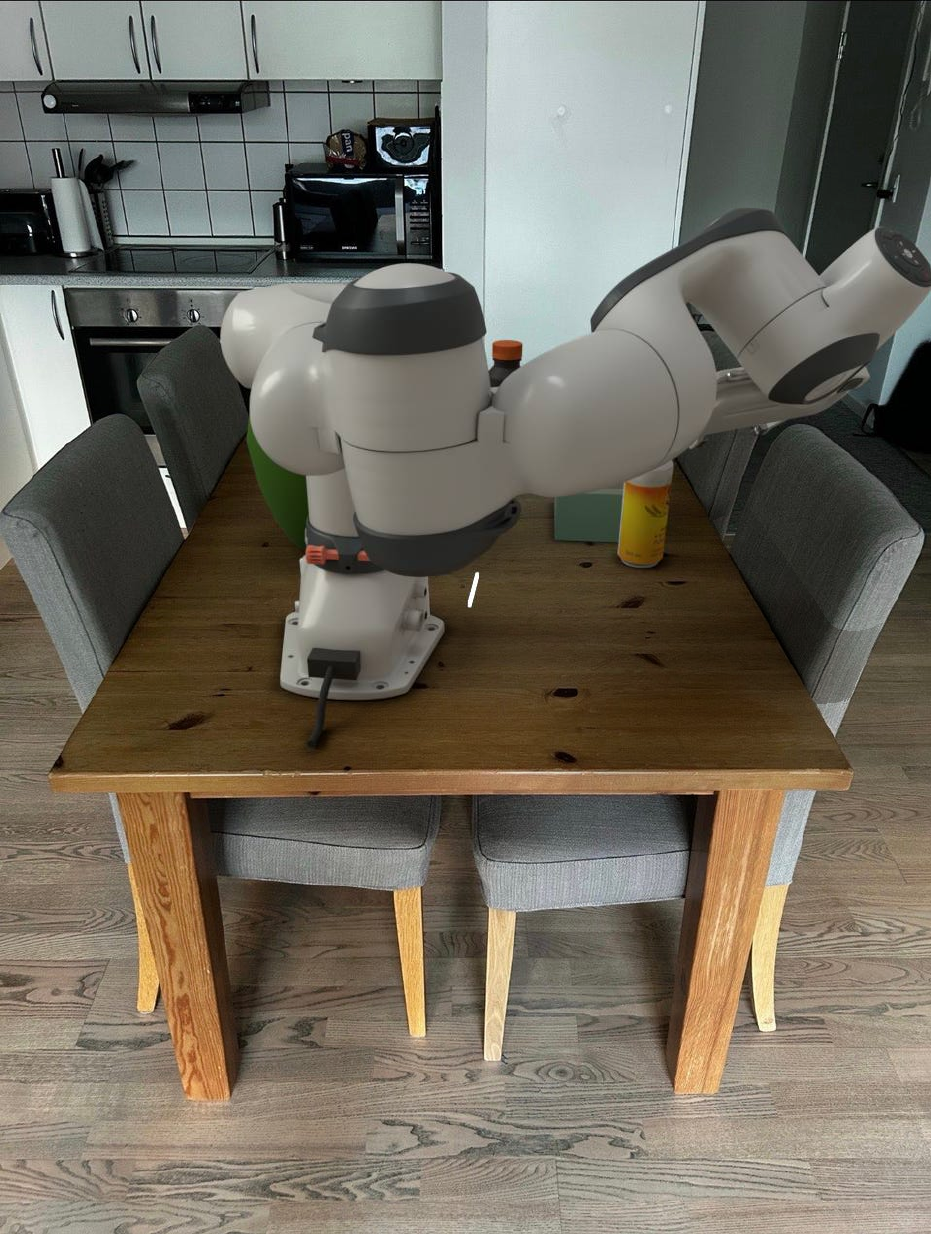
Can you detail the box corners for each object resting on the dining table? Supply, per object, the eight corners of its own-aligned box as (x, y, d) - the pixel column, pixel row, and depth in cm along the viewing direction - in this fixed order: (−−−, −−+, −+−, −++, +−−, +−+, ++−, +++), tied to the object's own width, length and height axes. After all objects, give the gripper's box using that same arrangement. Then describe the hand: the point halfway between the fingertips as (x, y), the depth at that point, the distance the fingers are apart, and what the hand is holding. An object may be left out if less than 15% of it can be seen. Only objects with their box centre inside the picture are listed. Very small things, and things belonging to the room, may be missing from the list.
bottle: (500, 470, 160) (503, 350, 150) (476, 459, 165) (478, 342, 155) (532, 462, 163) (536, 344, 154) (507, 451, 168) (510, 336, 159)
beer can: (661, 571, 126) (674, 464, 119) (615, 567, 127) (625, 460, 120) (662, 552, 132) (674, 448, 124) (618, 548, 133) (628, 445, 125)
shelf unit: (654, 544, 134) (673, 374, 123) (554, 540, 135) (564, 371, 124) (645, 508, 146) (662, 350, 134) (554, 505, 146) (563, 348, 135)
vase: (376, 582, 123) (368, 396, 111) (235, 568, 127) (213, 386, 115) (413, 523, 140) (410, 357, 128) (288, 512, 143) (273, 349, 131)
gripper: (732, 403, 92) (662, 475, 104) (881, 376, 100) (801, 446, 112) (705, 349, 94) (639, 426, 106) (854, 327, 102) (777, 401, 114)
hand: (723, 436), depth 109 cm, fingers open, 8 cm apart
